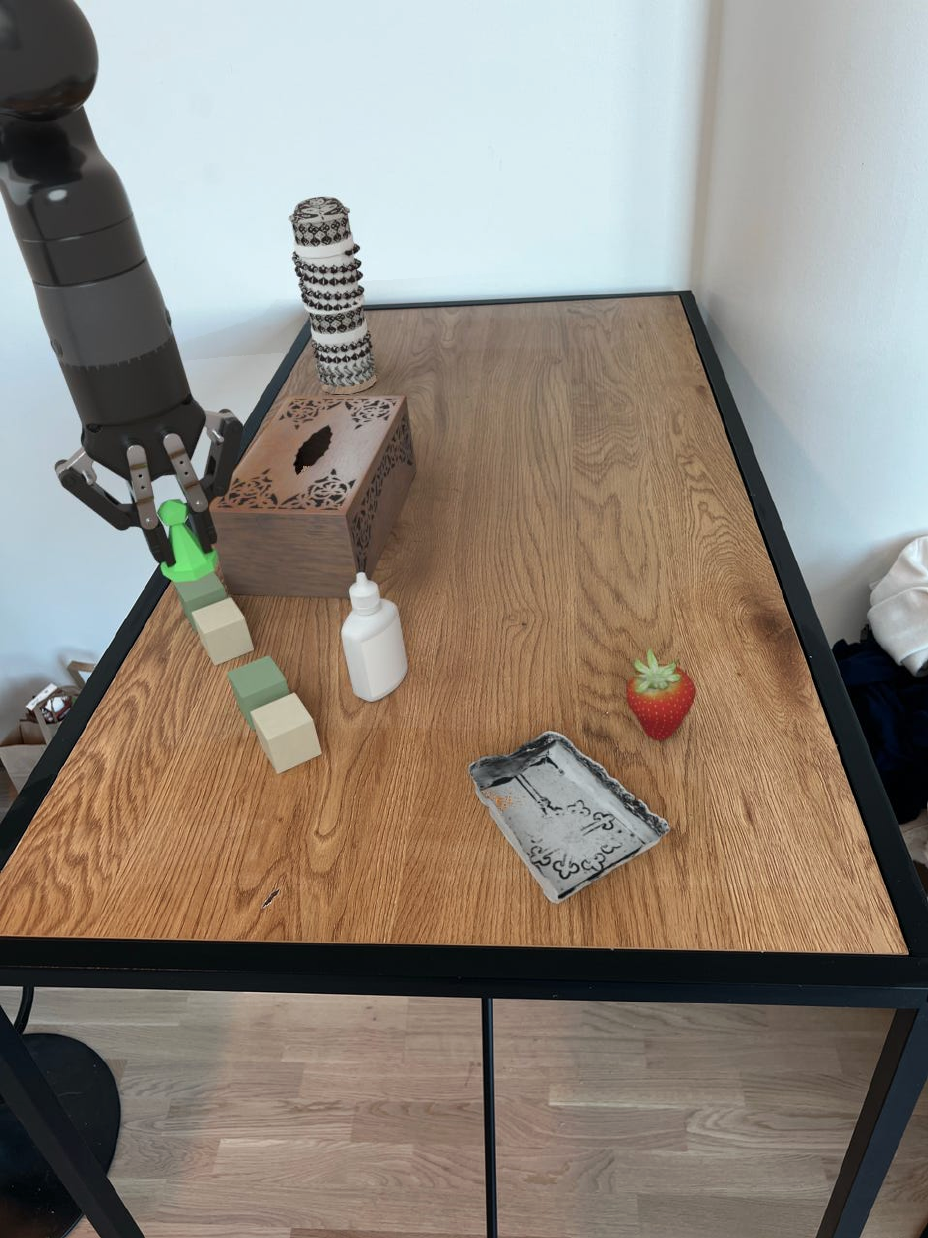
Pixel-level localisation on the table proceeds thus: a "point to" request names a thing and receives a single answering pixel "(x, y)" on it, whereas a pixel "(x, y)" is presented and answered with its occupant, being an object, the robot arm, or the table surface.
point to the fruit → (660, 696)
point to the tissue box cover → (315, 496)
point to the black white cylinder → (332, 291)
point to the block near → (286, 732)
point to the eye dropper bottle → (373, 642)
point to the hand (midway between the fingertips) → (187, 554)
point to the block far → (199, 594)
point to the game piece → (184, 545)
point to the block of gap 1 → (223, 631)
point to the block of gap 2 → (257, 685)
